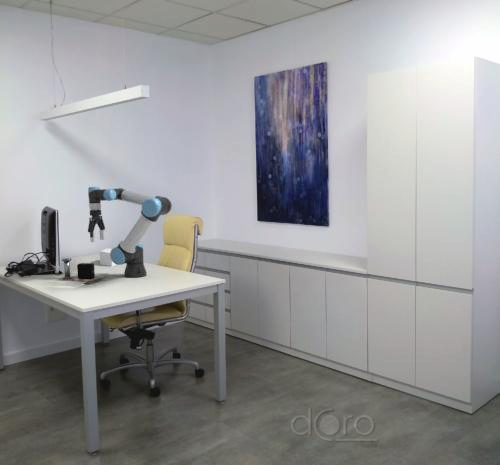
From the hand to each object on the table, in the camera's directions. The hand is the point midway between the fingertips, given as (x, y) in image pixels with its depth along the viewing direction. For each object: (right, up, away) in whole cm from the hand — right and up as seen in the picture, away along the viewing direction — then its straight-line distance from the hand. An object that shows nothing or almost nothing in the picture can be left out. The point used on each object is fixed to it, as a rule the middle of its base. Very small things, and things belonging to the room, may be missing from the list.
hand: (97, 240), depth 365 cm
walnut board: (-10, -27, -9) cm, 30 cm away
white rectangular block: (-7, -19, +58) cm, 61 cm away
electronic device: (-4, -25, -10) cm, 27 cm away
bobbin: (-18, -25, -7) cm, 31 cm away
